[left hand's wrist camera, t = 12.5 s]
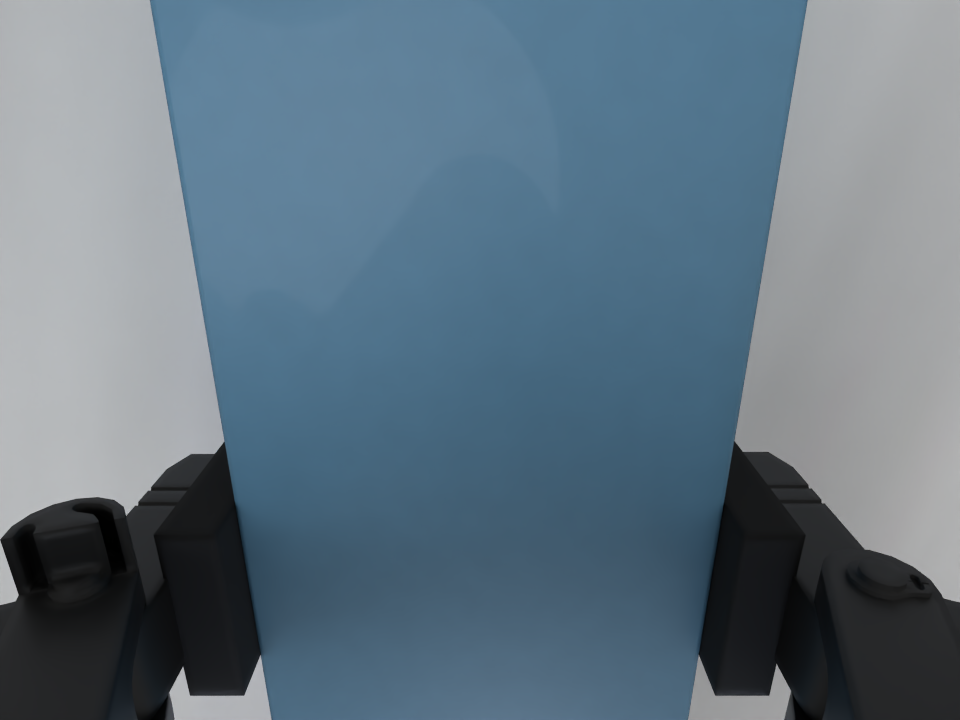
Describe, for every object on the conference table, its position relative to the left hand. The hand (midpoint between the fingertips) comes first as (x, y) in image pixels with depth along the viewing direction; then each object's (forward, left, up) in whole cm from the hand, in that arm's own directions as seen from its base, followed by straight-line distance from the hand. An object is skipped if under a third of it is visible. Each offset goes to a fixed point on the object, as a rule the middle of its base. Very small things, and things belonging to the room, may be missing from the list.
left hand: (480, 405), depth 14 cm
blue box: (+3, -2, -3) cm, 5 cm away
